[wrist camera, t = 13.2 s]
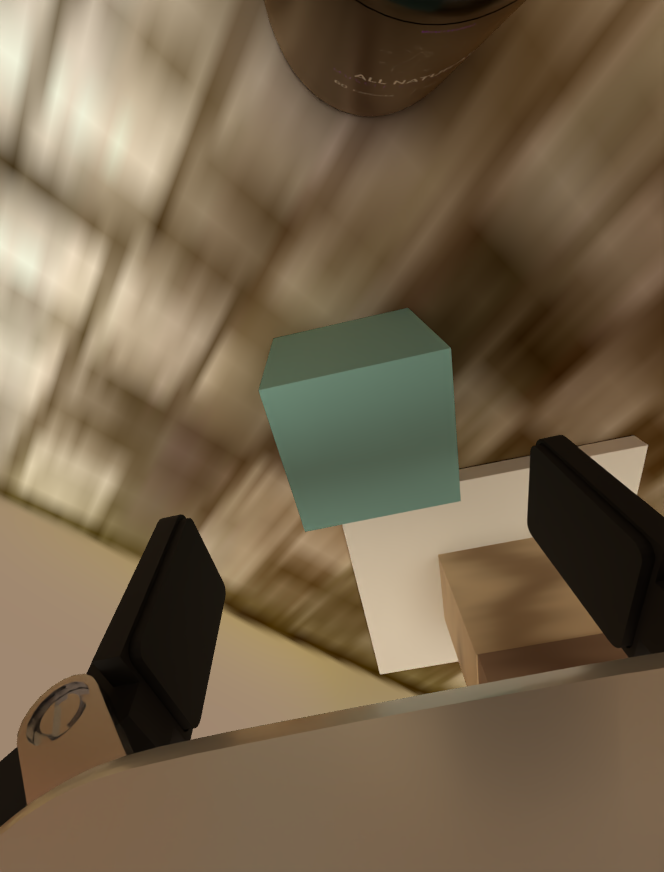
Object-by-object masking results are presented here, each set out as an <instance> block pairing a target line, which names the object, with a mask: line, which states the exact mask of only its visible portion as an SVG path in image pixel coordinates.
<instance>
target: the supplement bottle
mask: <svg viewBox="0 0 664 872" xmlns="http://www.w3.org/2000/svg"><path fill="white" fill-rule="evenodd" d="M525 1H526V0H264V3H265V7H266V11H267V14H268V18H269V21H270V24H271V27H272V30H273V32H274V35H275V38H276V40H277V42H278V44H279V47H280V49H281V51H282V53H283V55H284V56H285V58H286V60H287V62H288V63H289V65H290V66H291V68H292V70H293V71H294V72H295V74H296V75H297V76H298V78H299V79H300V80H301V81H302V83H303V84H304V85H305V86H306V87H307V88H308V89H309V90H310V91H311V92H312V93H314V94H315V95H316V96H317V97H318V98H320V99H321V100H323V101H324V102H325V103H327V104H329V105H330V106H332V107H334V108H336V109H338V110H341V111H343V112H346V113H350V114H353V115H359V116H382V115H387V114H391V113H395V112H398V111H400V110H403V109H405V108H407V107H409V106H411V105H413V104H415V103H416V102H418V101H419V100H421V99H422V98H424V97H425V96H426V95H428V94H429V93H430V92H431V91H432V90H434V89H435V88H436V87H437V86H438V85H439V84H440V83H442V82H443V81H444V80H445V79H446V78H447V77H448V76H449V75H450V74H451V73H452V72H453V71H454V70H455V69H456V68H457V67H458V66H459V65H460V64H461V63H462V62H463V61H464V60H465V59H466V58H467V57H468V56H469V55H470V54H471V53H472V52H473V51H474V50H476V49H477V48H478V47H479V46H480V45H481V44H482V43H483V42H484V41H485V40H486V39H487V38H488V37H489V36H490V35H491V34H492V33H493V32H494V31H495V30H496V29H497V28H498V27H499V26H500V25H501V24H502V23H503V22H504V21H505V20H506V19H507V18H508V17H509V16H510V15H511V14H513V13H514V12H515V11H516V10H517V9H518V8H519V7H520V6H521V5H522V4H523V3H524V2H525Z"/></svg>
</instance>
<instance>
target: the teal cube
mask: <svg viewBox="0 0 664 872" xmlns="http://www.w3.org/2000/svg"><path fill="white" fill-rule="evenodd" d="M259 393H260V396H261V399H262V402H263V405H264V408H265V412H266V415H267V418H268V421H269V424H270V427H271V430H272V433H273V436H274V439H275V442H276V445H277V448H278V451H279V454H280V457H281V460H282V463H283V466H284V469H285V472H286V475H287V478H288V481H289V484H290V487H291V490H292V493H293V496H294V499H295V502H296V505H297V508H298V511H299V515H300V518H301V521H302V524H303V527H304V530H305V532H306V531H312V530H317V529H322V528H327V527H332V526H337V525H342V524H347V523H352V522H357V521H362V520H367V519H372V518H377V517H383V516H388V515H393V514H398V513H403V512H408V511H413V510H418V509H423V508H428V507H433V506H438V505H443V504H448V503H454V502H459V501H461V496H460V481H459V465H458V450H457V434H456V419H455V403H454V387H453V372H452V356H451V348H450V347H449V346H448V345H447V344H446V343H445V342H444V341H443V340H442V339H441V338H440V337H439V336H438V335H437V334H435V333H434V332H433V331H432V330H431V329H430V328H429V327H428V326H427V325H426V324H425V323H424V322H423V321H422V320H421V319H419V318H418V317H417V316H416V315H415V314H414V313H413V312H412V311H411V310H410V309H409V308H405V309H401V310H396V311H392V312H387V313H383V314H379V315H374V316H370V317H365V318H361V319H357V320H352V321H348V322H344V323H339V324H335V325H330V326H326V327H322V328H317V329H313V330H308V331H304V332H300V333H295V334H291V335H286V336H282V337H278V338H274V339H273V342H272V346H271V349H270V352H269V356H268V359H267V363H266V366H265V370H264V373H263V377H262V380H261V384H260V387H259Z"/></svg>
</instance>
